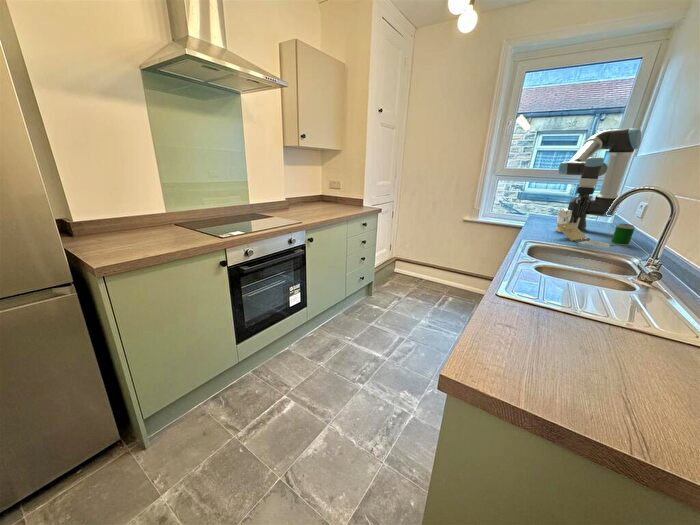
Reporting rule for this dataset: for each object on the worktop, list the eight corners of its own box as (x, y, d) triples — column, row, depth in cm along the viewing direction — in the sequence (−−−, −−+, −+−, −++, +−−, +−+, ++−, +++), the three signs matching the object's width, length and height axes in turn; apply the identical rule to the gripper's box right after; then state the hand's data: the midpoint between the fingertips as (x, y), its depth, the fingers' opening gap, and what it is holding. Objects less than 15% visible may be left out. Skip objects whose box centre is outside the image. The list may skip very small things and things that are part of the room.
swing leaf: (570, 223, 173) (573, 221, 171) (588, 241, 166) (591, 239, 165) (556, 225, 165) (559, 223, 164) (574, 244, 159) (577, 242, 157)
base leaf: (585, 241, 167) (587, 237, 166) (616, 247, 155) (617, 243, 155) (572, 243, 160) (573, 239, 159) (603, 250, 148) (604, 246, 147)
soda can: (631, 247, 156) (639, 226, 152) (617, 247, 156) (625, 225, 152) (619, 244, 163) (627, 223, 159) (606, 243, 163) (613, 223, 159)
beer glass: (555, 233, 185) (562, 210, 180) (551, 231, 191) (558, 208, 187) (567, 234, 183) (574, 211, 178) (563, 232, 190) (570, 209, 185)
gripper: (584, 186, 164) (572, 226, 172) (573, 186, 158) (560, 227, 165) (600, 187, 158) (586, 228, 166) (588, 187, 152) (575, 230, 159)
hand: (573, 228), depth 165 cm, fingers closed
